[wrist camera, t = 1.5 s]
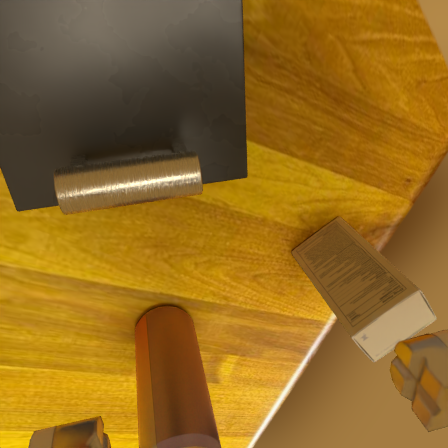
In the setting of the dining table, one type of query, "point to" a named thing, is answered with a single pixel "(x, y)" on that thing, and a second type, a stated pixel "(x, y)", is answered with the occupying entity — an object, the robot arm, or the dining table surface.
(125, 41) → the bin lid
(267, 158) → the dining table surface
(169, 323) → the beverage can
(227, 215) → the dining table surface
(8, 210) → the dining table surface
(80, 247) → the dining table surface
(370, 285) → the cosmetic box
